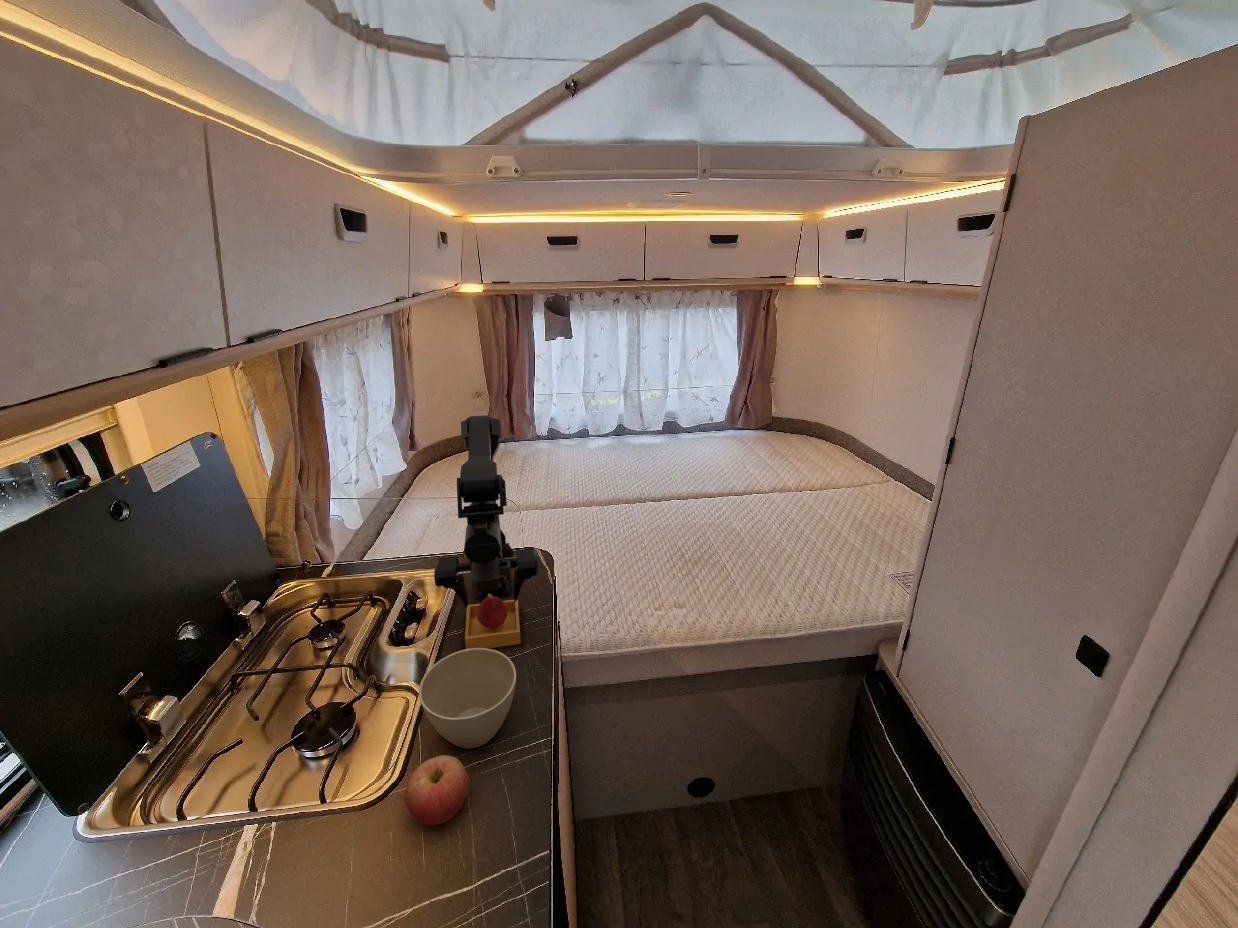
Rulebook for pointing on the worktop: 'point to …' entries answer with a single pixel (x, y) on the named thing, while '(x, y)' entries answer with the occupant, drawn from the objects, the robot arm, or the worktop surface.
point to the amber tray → (492, 637)
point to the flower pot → (468, 695)
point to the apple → (436, 790)
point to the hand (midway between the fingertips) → (491, 603)
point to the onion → (492, 612)
